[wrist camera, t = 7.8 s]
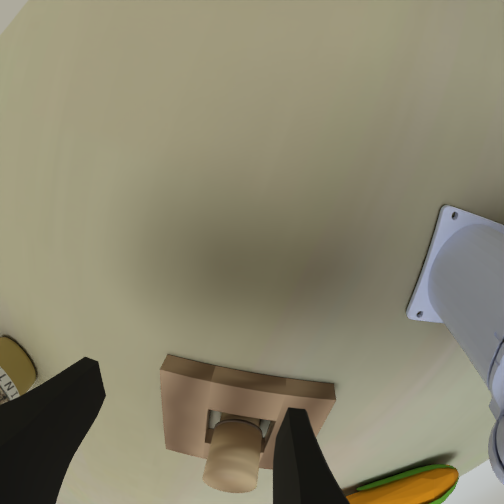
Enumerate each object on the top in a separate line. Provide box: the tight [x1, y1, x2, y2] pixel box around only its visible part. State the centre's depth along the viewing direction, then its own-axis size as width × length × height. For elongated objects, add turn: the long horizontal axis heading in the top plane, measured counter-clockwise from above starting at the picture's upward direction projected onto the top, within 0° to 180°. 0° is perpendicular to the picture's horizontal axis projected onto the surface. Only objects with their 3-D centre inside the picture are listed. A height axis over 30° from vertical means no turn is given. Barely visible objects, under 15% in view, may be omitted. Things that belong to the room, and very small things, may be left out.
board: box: [160, 355, 336, 469], centre depth 23 cm, size 13×12×2 cm
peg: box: [203, 412, 262, 493], centre depth 20 cm, size 4×4×7 cm
